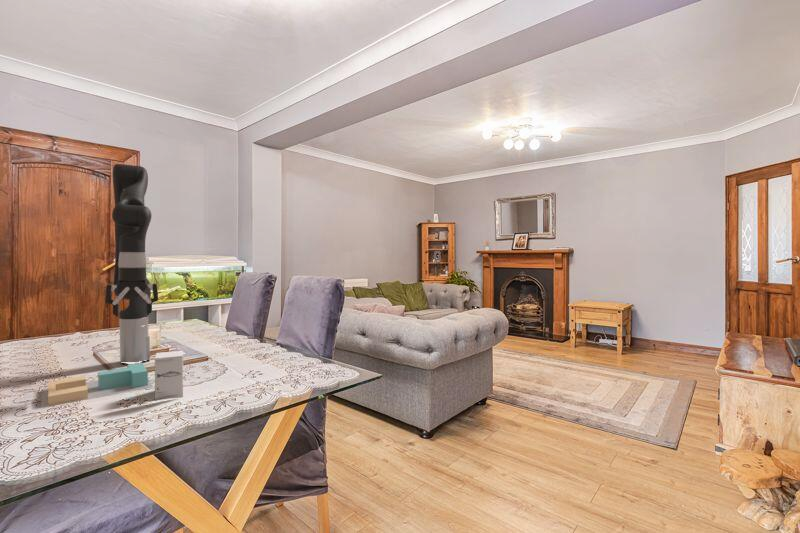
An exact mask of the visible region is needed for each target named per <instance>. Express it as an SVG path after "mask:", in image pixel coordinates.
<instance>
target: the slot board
mask: <svg viewBox="0 0 800 533" xmlns="http://www.w3.org/2000/svg"><path fill="white" fill-rule="evenodd" d="M86 379H87V378H86V375H82V376H81V375H80V376H75V377H69V378H67V377H66V378H63V379H62V378H61V379H55V380H49V381H48V388H45V389H42V394H41V395H42V396H41V403H40V408H41V409H43V408H49V407H54V406H60V405H64V404H70V403H75V402H82V401H85V400H92V399H99V398H102V397H103V398H104V397H107V396H114V395H119V394H123V393H124V394H125V393H129V392H134V391H140V390H144V389H145V390H146V389H149V388H154V386H153V384H152V383H151V382H150V379H148V385H146V386H140V387H135V388H133V387H132V385H125V386H119V387H114V388H108V389H102V390H99V387H98V380H92V381H88V382H87V381H86Z"/></svg>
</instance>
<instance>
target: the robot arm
mask: <svg viewBox="0 0 800 533" xmlns="http://www.w3.org/2000/svg"><path fill="white" fill-rule="evenodd" d="M148 175H149V174H148V171H147V169H146V168H145V167H144V166H142V165H132V164H124V163H122V164H121V163H117V164H114V165H113V168H112V186H113V187H112V188H113V197H114V199H113V200H114V208H113V210H112V213H111V218H112V221H113V222H114V239H115V240H114V241H115V254H114V255H115V258H114V259H115V260H114V261H115V262H114V263H115V264H114V266H115V267H114V275H113V281H112V282H113V283H112V284H111V283H109V284H107V285H106V287H105V303H106V304H109V305H112V315H113V316H115V317H116V318H117V317H119V322H118V323H119V355H120V356H119V361H120V362H139V361H144V360H150V361H151V346H150V345H151V343H150V342H151V341H150V340H151V339H150V335H149V316H150V314H151V313H152V312H153V303H155V302H158V300H159V289H158V284H157V283H155V282H154V283H151V282H150V280H149V279H148V278H147V256H146V238H147V233H148V229H149V226H150V224H151V221H152V215H153V214H152V212H151V209H150V208H149V207H147V206H146V205H145V196H146V194H147V190H148V185H149V184H148V183H149V176H148ZM151 292H152V293H151ZM113 293H114V295H115V296H116V298H115V299H112V294H113ZM152 294H153V295H152ZM151 295H152V296H153V298H151ZM121 300H125V301H126V300H128V306H127V307H126V308H124V309H121V310H120V309H119V308H120V305H119V302H120V301H121ZM120 362H119V363H120Z"/></svg>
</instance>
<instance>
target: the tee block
mask: <svg viewBox="0 0 800 533" xmlns="http://www.w3.org/2000/svg"><path fill="white" fill-rule="evenodd" d="M148 376H149V373H148V369H147V367H145V365H144V363H142V362H141V363H135V364H128V365H127V367H123V368H117V369H112V370H110V369H109V370H105V371H104V370H103V371H98V372H97V378H98V379H97V381H98V387H99V390H102V389H108V388H114V387H119V386H125V385H132V387H133V388H135V387H140V386H146V385H148V380H149V377H148Z"/></svg>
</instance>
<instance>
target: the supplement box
mask: <svg viewBox="0 0 800 533" xmlns="http://www.w3.org/2000/svg"><path fill="white" fill-rule="evenodd" d="M183 397H184V350H174V351H163V352H156V353H155V356H154V401H155V402H156V401H162V400H168V399H170V400H171V399H177V398H183Z"/></svg>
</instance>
